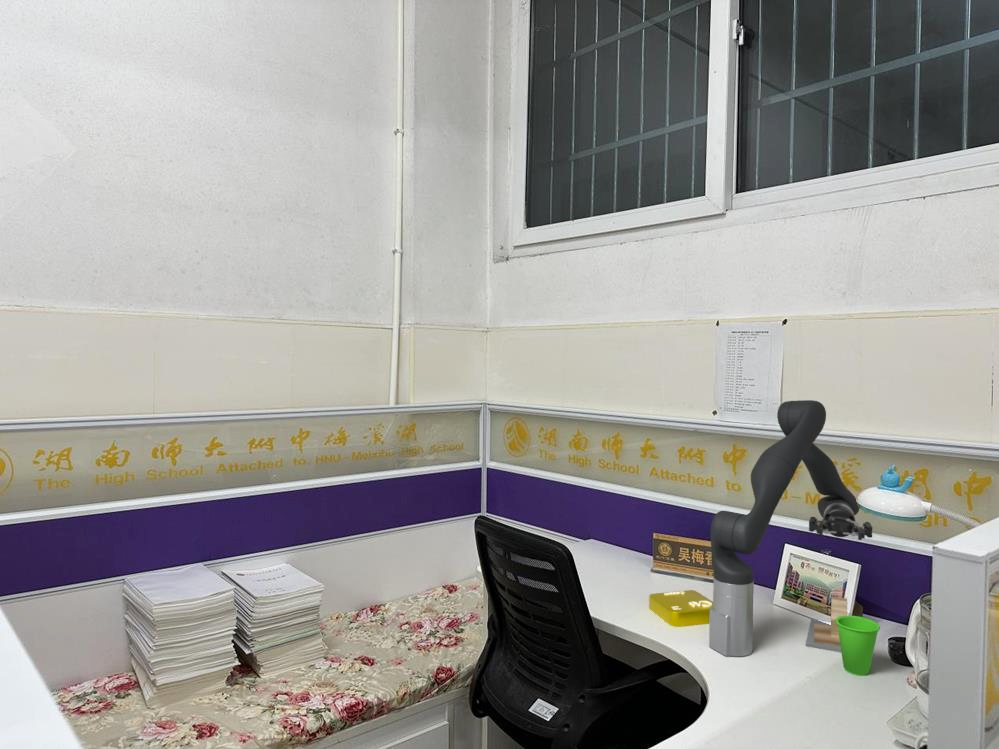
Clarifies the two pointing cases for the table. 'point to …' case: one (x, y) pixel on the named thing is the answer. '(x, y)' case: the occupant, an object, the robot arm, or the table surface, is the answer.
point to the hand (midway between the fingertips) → (840, 533)
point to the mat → (822, 646)
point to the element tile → (681, 608)
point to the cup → (857, 643)
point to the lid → (830, 633)
